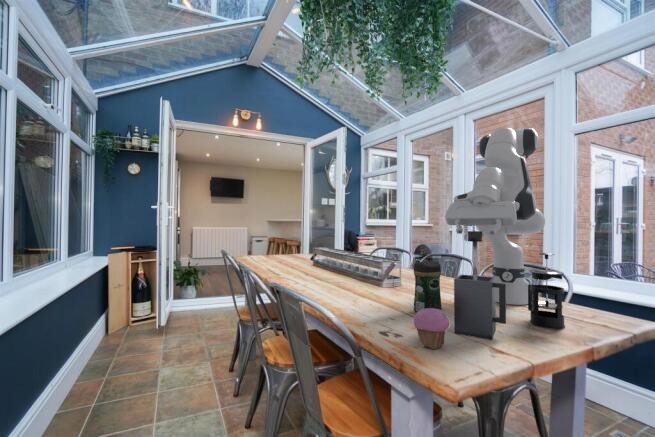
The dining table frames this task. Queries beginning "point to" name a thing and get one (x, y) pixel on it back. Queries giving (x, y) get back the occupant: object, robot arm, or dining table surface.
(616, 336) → the dining table surface
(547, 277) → the french press
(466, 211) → the robot arm
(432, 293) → the coffee jar
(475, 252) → the plunger
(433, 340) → the cupcake
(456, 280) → the press pot
